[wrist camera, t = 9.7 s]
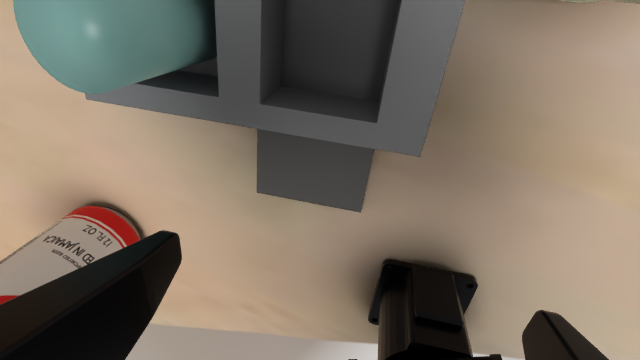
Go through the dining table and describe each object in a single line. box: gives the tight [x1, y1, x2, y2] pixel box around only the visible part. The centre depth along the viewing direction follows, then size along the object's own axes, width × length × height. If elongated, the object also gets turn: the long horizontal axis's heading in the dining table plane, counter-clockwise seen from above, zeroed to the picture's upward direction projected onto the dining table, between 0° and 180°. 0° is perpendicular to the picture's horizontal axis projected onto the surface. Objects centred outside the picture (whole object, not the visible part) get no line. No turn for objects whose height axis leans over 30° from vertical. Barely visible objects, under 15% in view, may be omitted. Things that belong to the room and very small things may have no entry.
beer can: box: [0, 206, 141, 304], centre depth 21 cm, size 6×6×16 cm
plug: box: [13, 0, 217, 94], centre depth 14 cm, size 4×4×8 cm
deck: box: [257, 129, 374, 212], centre depth 21 cm, size 6×7×1 cm
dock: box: [85, 0, 465, 157], centre depth 15 cm, size 9×17×5 cm, turn 84°
